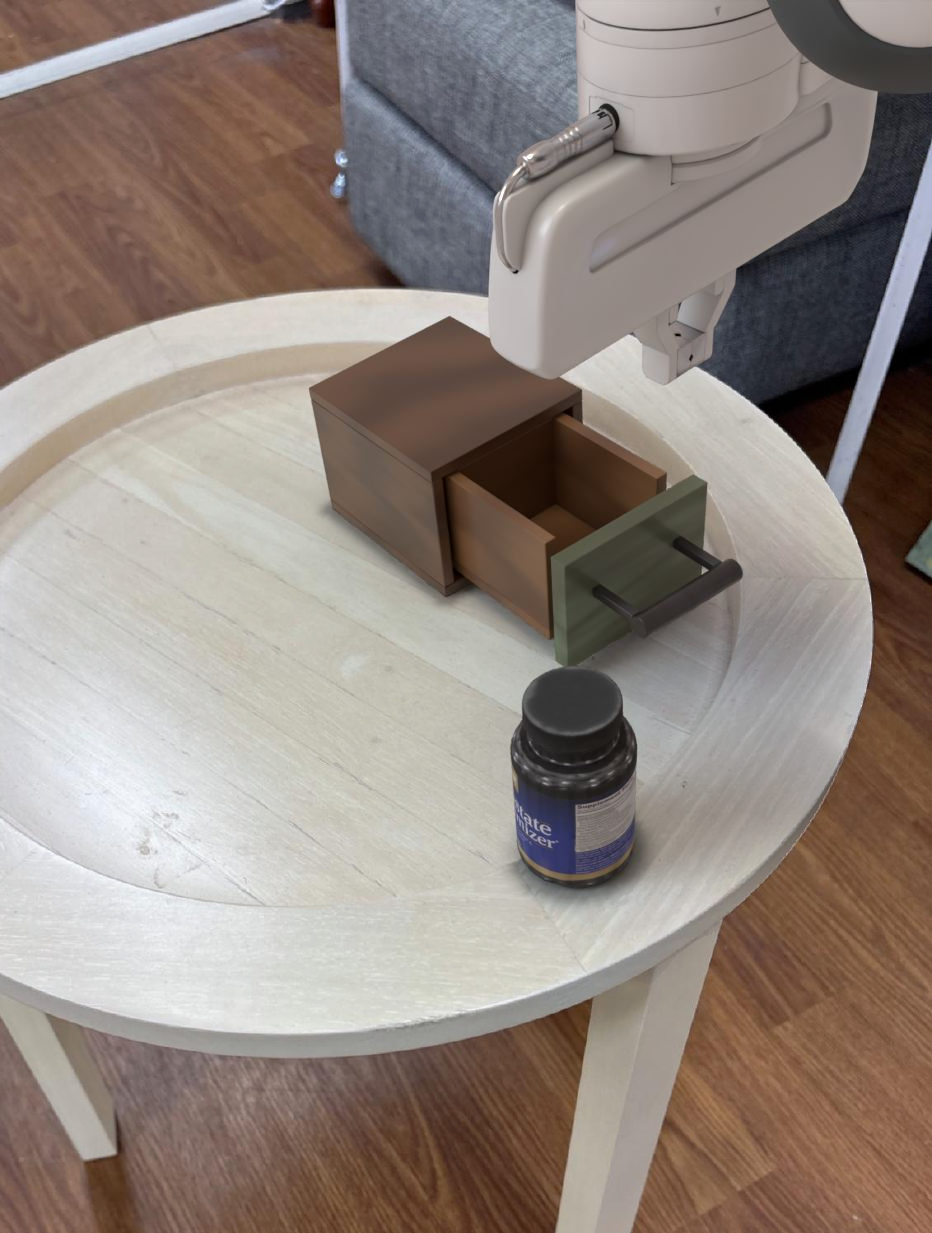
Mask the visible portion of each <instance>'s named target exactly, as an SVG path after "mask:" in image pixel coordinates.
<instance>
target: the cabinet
mask: <svg viewBox="0 0 932 1233" xmlns="http://www.w3.org/2000/svg"><path fill="white" fill-rule="evenodd" d="M308 392H309V397H310V403H311V407H312V412H313V417H314V422H315V426H316V434H317V438H318V444H319V447H320V453H321V458H322V464H323V468H324V473H325V478H326V483H327V488H328V495H329V499H330V505H331V508H332V509H333V510H334V511H335V512H337V513H338V514H339V515H341V516H342V517H343V518H344V519H345V520H347V521H348V522H350V524H352V525H353V526H355V527H356V528H357V529H359V530H360V531H361V532H362V533H364V534H365V535H366V536H367V537H369V539H371V540H373V541H374V542H375V543H376V544H378V545H379V546H380V547H381V548H383V549H384V550H385V551H387V552H388V553H389V554H391V555H392V556H393V557H394V558H396V559H397V560H398V561H399V562H401V563H402V564H403V565H405V566H406V567H407V568H408V569H410V570H411V571H412V572H413V573H415V574H416V575H417V576H419V577H420V578H421V579H422V580H423V581H425V582H426V583H428V584H429V585H431V587H433V588H434V589H436V590H437V591H438V592H439V593H441V594H442V595H443V596H444V597H448V596H450V595H452V594H454V593H455V592H458V591H459V590H460V589H462V588H464V587H466V586H467V585H469V584H470V583H472V582H471V581H470V580H469V579H467V578H466V577H465V576H463V575H462V574H461V573H459V572H458V571H457V570H455V569H454V568H453V567H452V559H451V550H450V541H449V533H448V524H447V516H446V507H445V498H444V490H443V481H442V477H444V476H446V475H448V474H449V473H451V472H453V471H455V470H457V469H458V468H460V467H462V466H464V465H466V464H468V463H469V462H471V461H473V460H475V459H477V458H478V457H480V456H482V455H484V454H486V453H488V452H489V451H491V450H493V449H495V448H497V447H499V446H500V445H502V444H504V443H506V442H508V441H509V440H511V439H513V438H515V437H517V436H519V435H520V434H522V433H524V432H526V431H528V430H529V429H531V428H533V427H535V426H537V425H539V424H540V423H542V422H544V421H546V420H548V419H549V418H551V417H553V416H555V415H557V414H559V413H560V412H563V413H565V414H567V415H568V416H570V417H572V418H574V419H575V420H577V421H579V422H580V423H582V424H584V416H583V415H584V414H583V413H584V410H583V389H582V388H581V387H578V386H576V385H575V384H573V383H572V382H570V381H568V380H566V379H564V378H563V377H561V376H560V377H558V378H555V379H552V380H549V379H544V378H541V377H539V376H537V375H535V374H532V373H530V372H528V371H526V370H524V369H522V368H520V367H518V366H516V365H514V364H513V363H511V362H510V361H508V360H506V359H505V358H504V357H502V356H501V355H500V354H499V353H498V352H497V351H496V350H495V349H494V348H493V346H492V344H491V341H490V336H487V335H485V334H484V333H481V332H480V331H478V330H476V329H475V328H473V327H471V326H469V325H467V324H466V323H463V322H462V321H460V320H458V319H456V318H455V317H453V316H451V315H448V316H445V317H443V318H442V319H439V321H436V322H434V323H433V324H431V325H429V326H427V327H425V328H422V329H421V330H419V331H417V332H415V333H412V334H411V335H409V336H407V337H405V338H403V339H402V340H399V341H397V342H396V343H394V344H391V345H389V346H388V347H386V348H383V349H382V350H380V351H378V352H376V353H374V354H372V355H370V356H368V357H366V358H364V359H362V360H360V361H358V362H356V363H354V364H353V365H351V366H348V367H347V368H345V369H343V370H341V371H339V372H337V373H335V374H333V375H331V376H329V377H327V378H325V379H323V380H321V381H319V382H317V383H315V384H314V385H312V386H310V387H308Z"/></svg>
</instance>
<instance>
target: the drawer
mask: <svg viewBox="0 0 932 1233" xmlns="http://www.w3.org/2000/svg"><path fill="white" fill-rule="evenodd" d="M442 481H443V490H444V498H445V507H446V516H447V524H448V533H449V541H450V550H451V559H452V567H453V568H454V569H455V570H457V571H458V572H459V573H461V574H462V575H463V576H465V577H466V578H467V579H469V580H470V581H471V583H472V584H474V585H475V586H477V587H478V588H479V589H481V590H482V591H483V592H485V593H486V594H487V595H489V597H491V598H493V599H494V600H495V601H496V602H498V603H499V604H500V605H501V606H502V607H504V608H506V609H507V610H508V611H510V612H511V613H513V614H514V615H515V616H517V617H518V618H519V619H520V620H522V621H523V622H524V623H526V624H527V625H528V626H530V627H531V628H532V629H534V630H535V631H536V632H537V633H539V634H540V635H542V636H543V637H544V638H546V639H547V640H548V641H552V640H554V658H555V662H556V663H558V664H559V665H560V666H561V667H569V666H579V665H580V664H581V663H583V662H584V661H586V660H588V659H589V658H591V657H593V656H594V655H596V654H598V653H600V652H601V651H603V650H604V649H606V648H607V647H609V646H611V645H612V644H614V643H616V642H617V641H619V640H621V639H622V638H624V637H626V636H627V635H629V634H630V633H632V632H633V633H634V634H635V636H636V637H637V638H639V639H641V640H646V639H648V638H649V637H651V636H652V635H654V634H656V633H658V632H659V631H661V630H662V629H664V628H665V627H668V626H669V625H670V624H672V623H674V622H675V621H677V620H679V619H680V618H682V617H684V616H685V615H687V614H689V613H690V612H691V611H693V610H695V609H696V608H699V607H701V605H703V604H704V603H707V602H708V601H710V600H711V599H712V598H715V596H718V595H719V594H720V593H722V592H724V591H726V590H727V589H729V588H730V587H732V586H734V585H735V584H737V583H739V582H740V581H741V580H742V579H743V576H744V572H743V568H742V566H741V564H740V563H739V562H738V561H737V560H736V559H735V558H726V559H725V560H721V559H719V558H718V557H716V556H714V555H712V554H711V553H710V552H708V551H706V550H705V549H704V545H705V544H704V543H705V530H706V512H707V502H708V501H707V500H708V485H709V484H708V482H707V481H706V480H704V479H702V478H701V477H699V476H698V475H696V474H691V475H689V476H687V477H685V478H684V479H682V480H681V481H679V482H677V483H675V484H674V485H672V486H670V487H668V488H667V486H668V484H667V483H668V472H667V471H665V470H663V469H662V468H660V467H659V466H656V465H655V464H653V463H651V462H649V461H648V460H647V459H645V458H643V457H641V456H639V455H637V454H636V453H634V452H632V451H631V450H630V449H629V450H628V449H626V448H625V447H624V446H622V445H620V444H618V443H616V442H615V441H613V440H611V439H610V438H608V437H606V435H605V436H604V435H603V434H601V433H599V432H598V431H597V430H594V429H592V428H591V427H589V426H587V425H585V424H584V423H583V424H582V423H580V422H579V421H577V420H575V419H574V418H572V417H570V416H568V415H567V414H565V413H563V412H560V413H559V414H557V415H555V416H553V417H551V418H549V419H548V420H546V421H544V422H542V423H540V424H539V425H537V426H535V427H533V428H531V429H529V430H528V431H526V432H524V433H522V434H520V435H519V436H517V437H515V438H513V439H511V440H509V441H508V442H506V443H504V444H502V445H500V446H499V447H497V448H495V449H493V450H491V451H489V452H488V453H486V454H484V455H482V456H480V457H478V458H477V459H475V460H473V461H471V462H469V463H468V464H466V465H464V466H462V467H460V468H458V469H457V470H455V471H453V472H451V473H449V474H448V475H446V476H444V477H442ZM703 568H704V569H706V570H707V571H705V572H703Z"/></svg>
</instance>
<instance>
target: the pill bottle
mask: <svg viewBox="0 0 932 1233" xmlns="http://www.w3.org/2000/svg"><path fill="white" fill-rule="evenodd" d="M623 699H624V698H623V694H622V691H621V688H620V686H619V684H618V683H617V682H616V681H615V680H614V679H613V678H612V677H611V676H609V675H608V674H607V673H604V672H603V671H601V670H598V669H596V668H591V667H587V666H580V665H576V666H569V667H563V666H561V667H557V668H553V669H550V670H548V671H545V672H544V673H542V674H540V675H538V676H537V677H535V678H534V679H533V680H532V681H531V682H530V683H529V684H528V685H527V687H526V689H525V690H524V692H523V695H522V699H521V720H520V722H518V725H517V726H516V727H515V730H514V731H513V734H512V737H511V739H510V746H509V749H510V752H509V753H510V754H509V755H510V763H511V776H512V777H511V778H512V790H513V791H512V792H513V805H514V819H515V830H516V845H517V850H518V853H519V855H520V859H521V861H522V862H523V863H524V865H525V866H526V867H527V869H528V870H529V871H530V872H532V873H533V874H534V875H535V876H537V877H538V878H540V879H541V880H543V881H545V882H549V883H551V884H557V885H559V886H561V887H565V888H566V887H567V888H572V889H573V888H588V887H591V886H596V885H598V884H600V883H602V882H605V881H607V880H609V879H611V878H613V877H614V876H616V874H618V873H620V872H621V871H622V869H624V868H625V866H626V865H627V864H628V862H629V860H630V858H631V856H632V853H633V851H634V847H635V830H636V829H635V828H636V827H635V826H636V802H637V800H636V796H637V770H638V769H637V768H638V767H637V763H638V740H637V736H636V733H635V731H634V728H633V726H632V725H631V723H630V722H629V720H628V719H627V717H626V716H624V700H623Z"/></svg>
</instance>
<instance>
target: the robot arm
mask: <svg viewBox="0 0 932 1233" xmlns="http://www.w3.org/2000/svg"><path fill="white" fill-rule="evenodd" d="M574 1H575V41H576V42H575V46H576V47H575V48H576V49H575V50H576V52H575V53H576V85H577V86H576V87H577V88H576V92H577V120H576V121H574V122H573V123H572V124H570V125H569V126H567V127H565V129H563V130H562V131H560V132H559V133H558V134H556V135H555V136H553V137H551V138H549V139H544V140H541V141H539V142H536V143H534V144H532V145H530V146H529V147H528V148H527V149H525V150H524V151H522V152H521V153H520V154H519V156H518V157H517V158H516V163H515V165H516V166H515V168H514V169H513V170H512V172H510V174H509V175H508V177H506V179H505V181H504V183H503V185H502V187H501V188H500V190H499V191H498V192H497V193H496V195H495V197H494V200H493V205H492V226H493V228H492V232H491V233H492V234H491V242H490V254H489V255H490V257H489V269H488V270H489V271H488V304H487V305H488V333H489V338H490V341H491V344H492V346H493V348H494V349H495V350H496V351H497V352H498V353H499V354H500V355H501V356H502V357H504V358H505V359H506V360H508V361H510V362H511V363H513V364H514V365H516V366H518V367H520V368H522V369H524V370H526V371H528V372H530V373H532V374H535V375H537V376H539V377H541V378H544V379H549V380H552V379H555V378H558V377H561V376H563V375H565V374H567V373H568V372H570V371H572V370H573V369H575V368H576V367H579V365H581V364H583V363H584V362H586V361H588V360H589V359H591V358H593V357H594V356H595V355H597V354H599V353H601V352H603V351H604V350H606V349H607V348H609V347H610V346H612V345H614V344H616V343H617V342H618V341H620V340H622V339H623V338H626V337H627V336H628V335H631V334H632V333H633V334H634V336H635V338H636V339H637V340H638V342H639V344H641V346H642V348H641V352H642V353H641V358H642V359H641V369H642V372H643V375H645V377H646V378H647V379H649V380H651V381H653V382H656V383H658V384H660V386H661V385H662V386H667V385H669V384H671V383H672V382H674V381H675V380H677V379H678V378H679V377H681V376H683V375H684V374H686V373H688V372H689V371H691V370H692V369H694V368H696V366H698V365H700V364H703V362H705V361H707V360H708V359H710V358H711V357H712V355H713V345H714V331H715V330H714V329H715V327H716V326H717V324H718V322H719V320H720V318H721V316H722V314H723V311H724V309H725V307H726V305H727V303H728V302H729V299H730V297H731V294H732V293H733V290H734V288H735V286H736V280H737V279H736V277H737V269H738V268H740V267H741V266H743V265H745V264H746V263H748V262H749V261H751V260H752V259H754V258H756V257H757V256H759V255H761V254H762V253H764V252H766V251H768V250H769V249H771V248H772V247H774V246H775V245H778V244H779V243H780V242H782V241H784V240H786V239H787V238H789V237H790V236H792V235H794V234H795V233H797V232H798V231H800V230H802V229H804V228H805V227H807V226H808V225H810V224H812V223H813V222H815V221H816V220H818V219H820V218H821V217H823V216H825V215H826V214H828V213H830V212H831V211H833V210H834V209H836V208H838V207H840V206H841V205H843V204H844V203H846V202H847V201H848V200H849V198H850V197H851V195H852V194H853V192H854V191H855V189H856V187H857V185H858V183H859V181H860V179H861V177H862V175H863V174H864V171H865V169H866V165H867V162H868V157H869V152H870V148H871V142H872V135H873V130H874V123H875V116H876V110H877V102H878V101H877V100H878V93H885V94H893V95H894V94H895V95H920V94H931V93H932V0H574ZM679 305H680V306H679Z"/></svg>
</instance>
